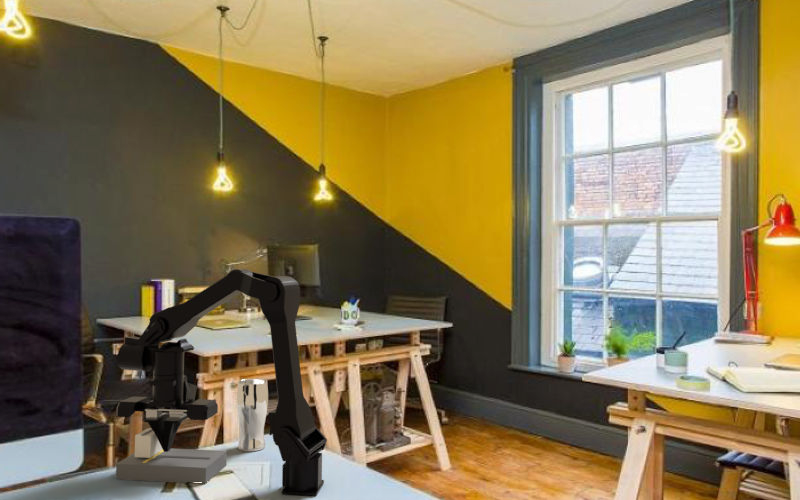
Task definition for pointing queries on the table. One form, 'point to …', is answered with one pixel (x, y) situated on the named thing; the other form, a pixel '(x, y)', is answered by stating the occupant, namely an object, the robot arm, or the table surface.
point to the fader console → (173, 466)
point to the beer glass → (252, 413)
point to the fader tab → (146, 444)
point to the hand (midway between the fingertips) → (166, 451)
